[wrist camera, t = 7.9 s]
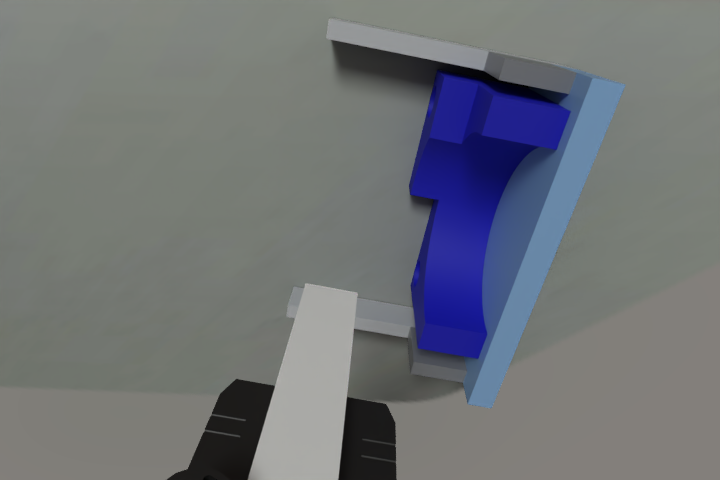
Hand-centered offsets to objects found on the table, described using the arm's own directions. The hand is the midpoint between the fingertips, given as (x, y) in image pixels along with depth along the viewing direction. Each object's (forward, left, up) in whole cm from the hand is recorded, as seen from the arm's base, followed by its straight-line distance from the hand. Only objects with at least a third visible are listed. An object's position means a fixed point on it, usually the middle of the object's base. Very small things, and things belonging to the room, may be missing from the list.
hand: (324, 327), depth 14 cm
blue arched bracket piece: (+5, 0, -13) cm, 14 cm away
